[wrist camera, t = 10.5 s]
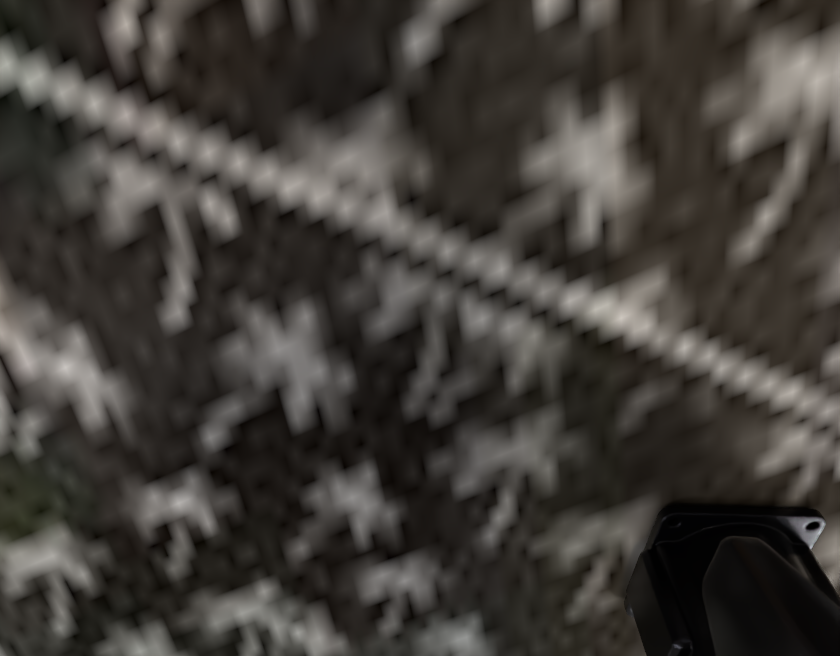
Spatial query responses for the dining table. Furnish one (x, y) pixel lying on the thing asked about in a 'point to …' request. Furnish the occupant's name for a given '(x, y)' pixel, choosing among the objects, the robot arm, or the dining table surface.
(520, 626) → the dining table surface
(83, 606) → the dining table surface
